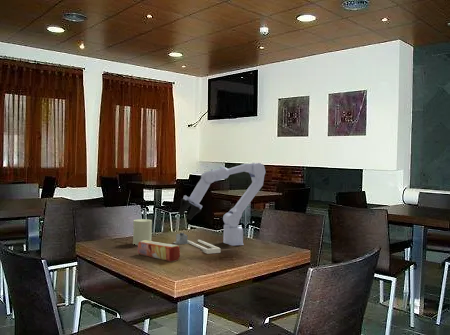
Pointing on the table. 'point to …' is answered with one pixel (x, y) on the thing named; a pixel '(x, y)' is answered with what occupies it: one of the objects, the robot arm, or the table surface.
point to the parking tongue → (178, 243)
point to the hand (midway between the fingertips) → (184, 216)
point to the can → (141, 230)
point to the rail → (205, 250)
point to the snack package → (159, 250)
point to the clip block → (181, 238)
